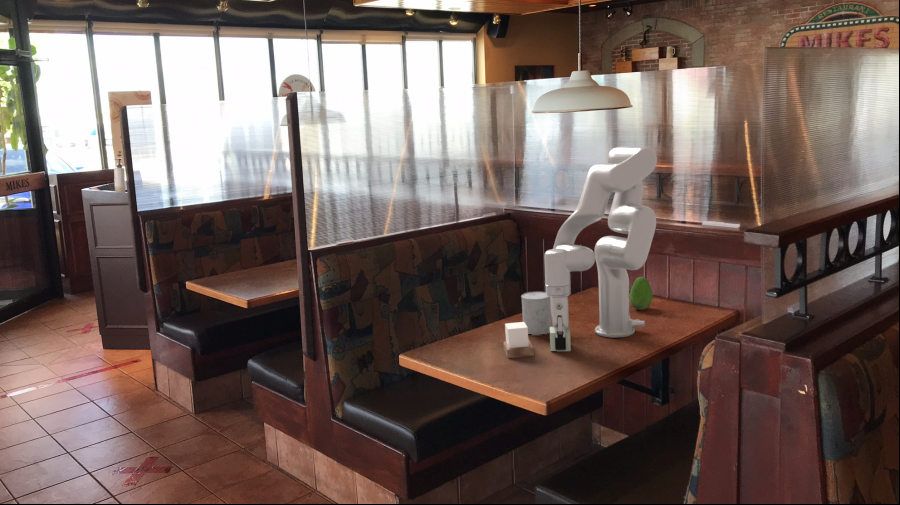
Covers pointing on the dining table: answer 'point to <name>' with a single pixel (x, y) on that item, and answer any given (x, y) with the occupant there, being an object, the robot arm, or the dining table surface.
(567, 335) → the sage block
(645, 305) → the avocado
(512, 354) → the walnut slab
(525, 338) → the tower cube
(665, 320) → the dining table surface
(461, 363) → the dining table surface
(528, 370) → the dining table surface
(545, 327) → the grey marble cylinder
